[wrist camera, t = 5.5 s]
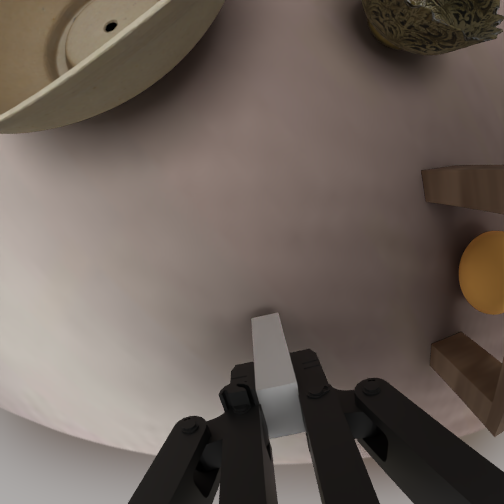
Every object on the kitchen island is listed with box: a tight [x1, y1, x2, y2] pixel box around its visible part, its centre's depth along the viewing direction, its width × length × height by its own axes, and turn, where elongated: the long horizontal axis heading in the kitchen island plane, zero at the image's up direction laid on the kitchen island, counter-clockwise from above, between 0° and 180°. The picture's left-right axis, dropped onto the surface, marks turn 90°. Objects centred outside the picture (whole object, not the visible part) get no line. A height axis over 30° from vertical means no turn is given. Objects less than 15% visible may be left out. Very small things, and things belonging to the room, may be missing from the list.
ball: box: [459, 231, 504, 315], centre depth 16 cm, size 6×6×6 cm
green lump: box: [362, 0, 504, 55], centre depth 11 cm, size 8×7×8 cm
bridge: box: [421, 165, 504, 437], centre depth 14 cm, size 3×14×9 cm, turn 13°
